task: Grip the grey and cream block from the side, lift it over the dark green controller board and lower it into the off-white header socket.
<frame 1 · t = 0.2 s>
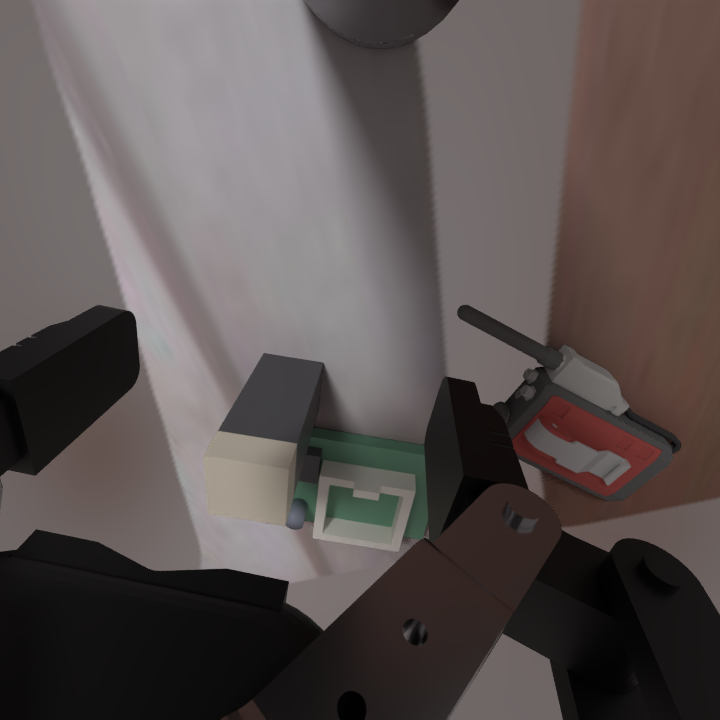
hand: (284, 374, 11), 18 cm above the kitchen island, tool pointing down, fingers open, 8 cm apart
controller board: (354, 478, 37), on the kitchen island
grey and cream block: (292, 382, 32), on the kitchen island
walkie-talkie: (543, 396, 32), on the kitchen island
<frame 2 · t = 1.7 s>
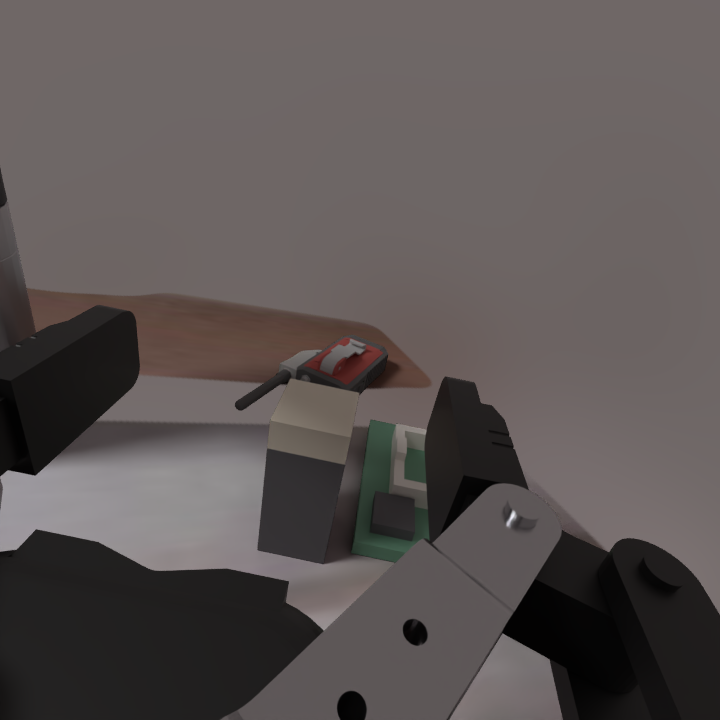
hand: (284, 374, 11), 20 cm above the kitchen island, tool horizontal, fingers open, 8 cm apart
controller board: (419, 492, 35), on the kitchen island
grey and cream block: (298, 529, 30), on the kitchen island
walkie-talkie: (320, 389, 47), on the kitchen island
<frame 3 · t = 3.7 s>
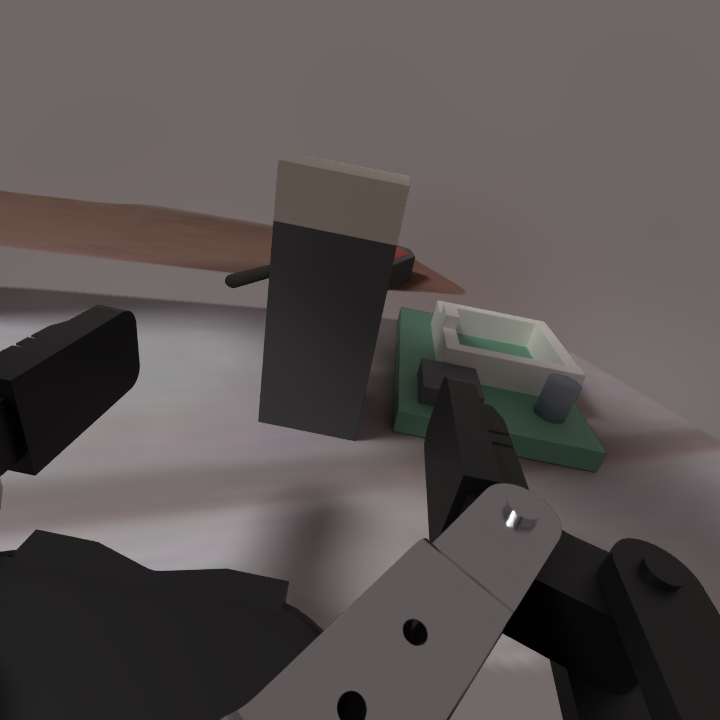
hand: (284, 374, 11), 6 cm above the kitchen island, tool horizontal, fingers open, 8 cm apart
controller board: (473, 379, 27), on the kitchen island
grey and cream block: (315, 403, 21), on the kitchen island
walkie-talkie: (333, 287, 39), on the kitchen island
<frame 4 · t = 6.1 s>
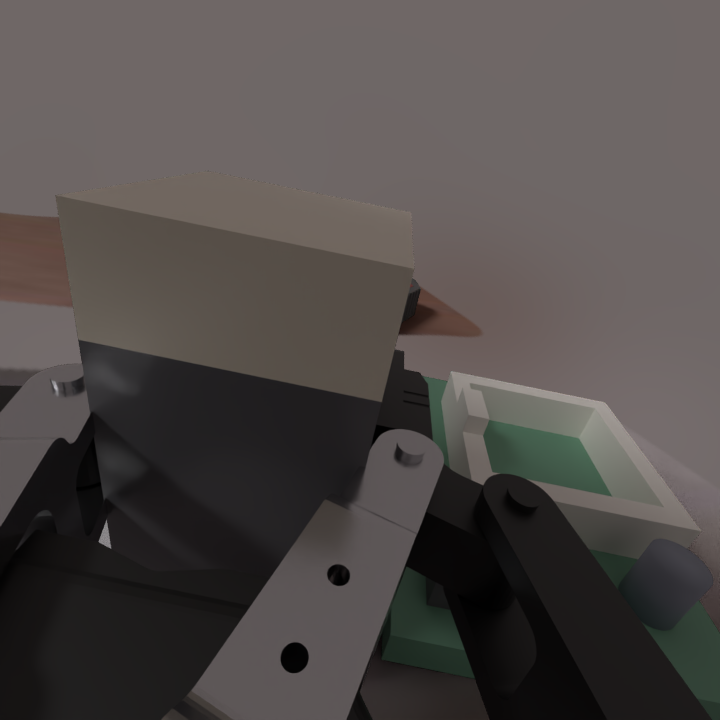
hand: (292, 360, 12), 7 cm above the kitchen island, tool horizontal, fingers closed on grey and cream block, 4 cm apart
controller board: (507, 501, 18), on the kitchen island
grey and cream block: (249, 594, 12), on the kitchen island, touching gripper
walkie-talkie: (312, 331, 30), on the kitchen island
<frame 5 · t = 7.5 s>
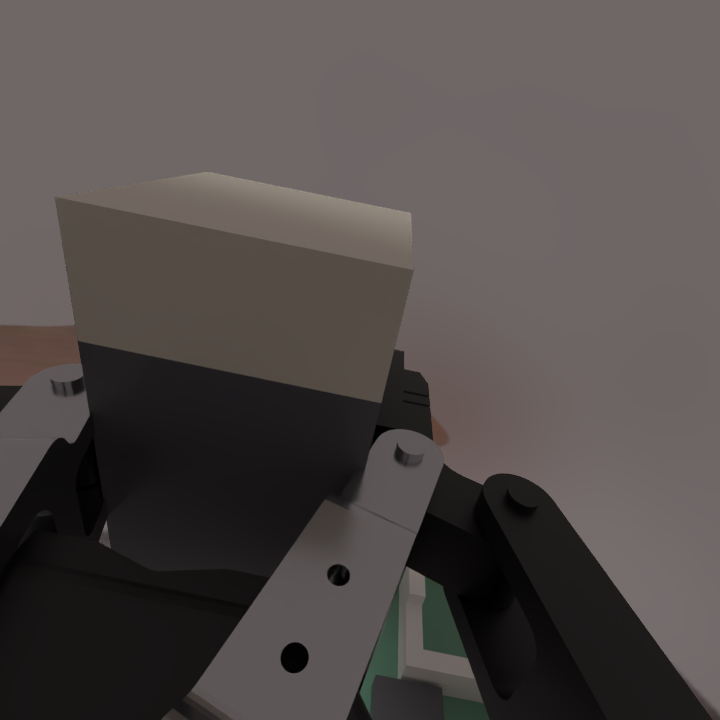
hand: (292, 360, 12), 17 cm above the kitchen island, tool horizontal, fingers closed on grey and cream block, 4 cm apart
controller board: (445, 647, 22), on the kitchen island
grey and cream block: (249, 595, 12), point 11 cm above the kitchen island, touching gripper
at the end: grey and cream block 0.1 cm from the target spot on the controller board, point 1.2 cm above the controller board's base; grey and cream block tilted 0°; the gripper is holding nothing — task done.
